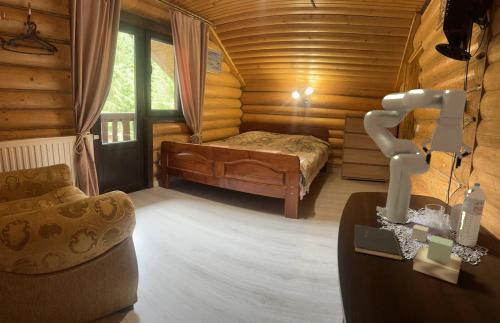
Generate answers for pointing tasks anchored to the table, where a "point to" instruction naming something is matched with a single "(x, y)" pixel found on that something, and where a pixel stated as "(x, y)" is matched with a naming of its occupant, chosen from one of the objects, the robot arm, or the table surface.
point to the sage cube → (440, 249)
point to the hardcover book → (377, 242)
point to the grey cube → (420, 233)
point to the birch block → (437, 266)
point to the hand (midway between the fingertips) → (442, 166)
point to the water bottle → (470, 216)
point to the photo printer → (455, 216)
